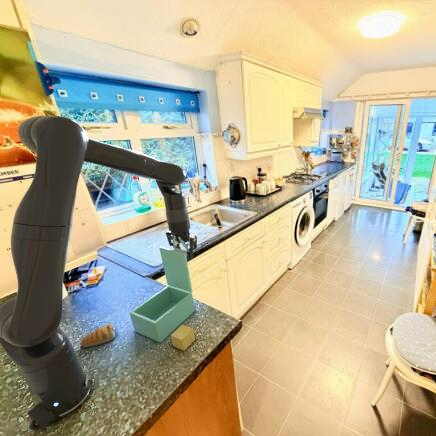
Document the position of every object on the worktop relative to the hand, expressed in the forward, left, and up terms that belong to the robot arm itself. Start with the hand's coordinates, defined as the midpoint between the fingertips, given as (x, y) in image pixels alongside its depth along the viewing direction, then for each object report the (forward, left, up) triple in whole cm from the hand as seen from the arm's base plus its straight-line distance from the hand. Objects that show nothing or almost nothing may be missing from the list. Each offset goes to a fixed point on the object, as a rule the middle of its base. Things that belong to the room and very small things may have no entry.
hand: (184, 257), depth 94 cm
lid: (-5, 0, -3) cm, 6 cm away
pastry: (-28, +14, -21) cm, 38 cm away
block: (-18, -14, -21) cm, 31 cm away
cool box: (-13, 0, -21) cm, 25 cm away
